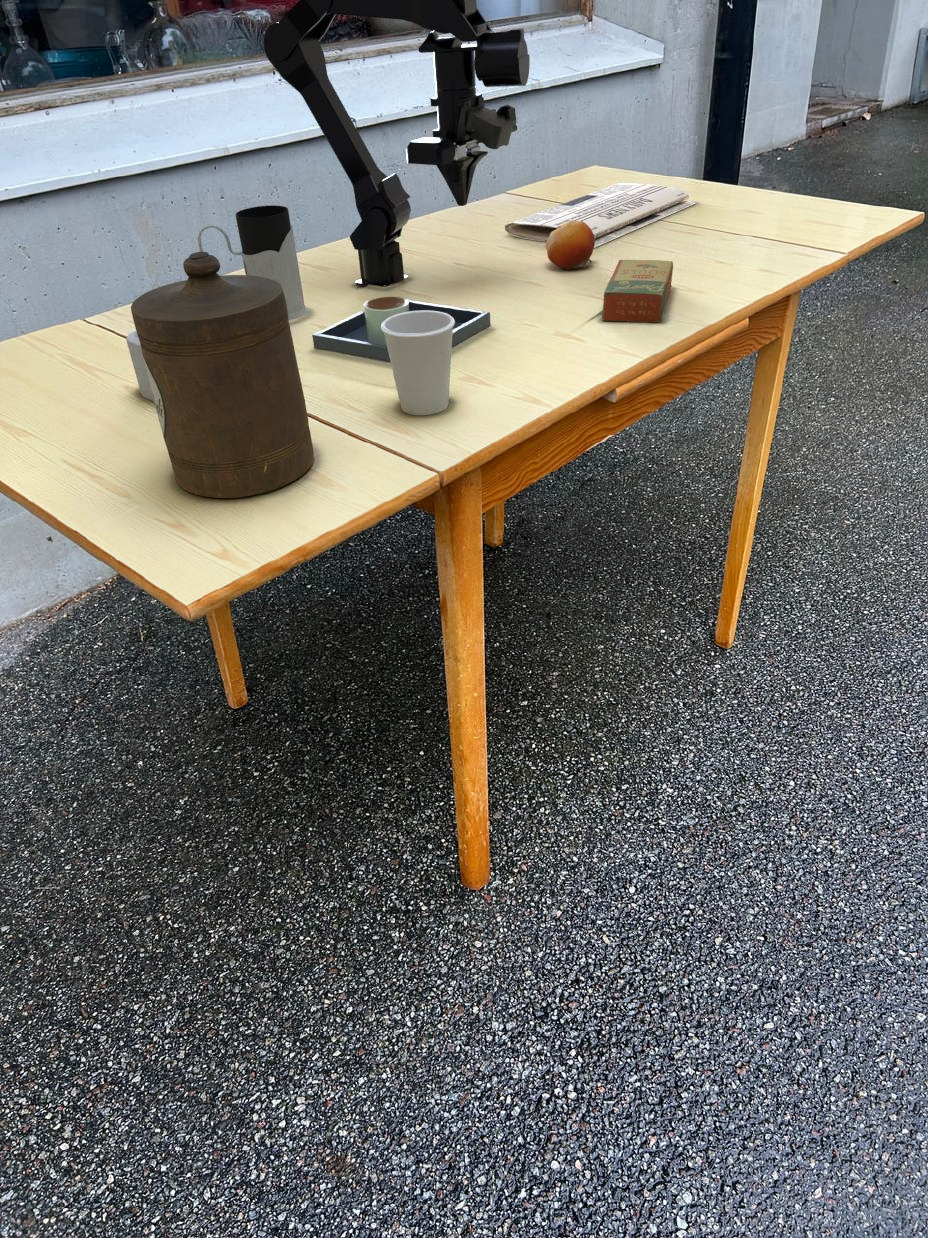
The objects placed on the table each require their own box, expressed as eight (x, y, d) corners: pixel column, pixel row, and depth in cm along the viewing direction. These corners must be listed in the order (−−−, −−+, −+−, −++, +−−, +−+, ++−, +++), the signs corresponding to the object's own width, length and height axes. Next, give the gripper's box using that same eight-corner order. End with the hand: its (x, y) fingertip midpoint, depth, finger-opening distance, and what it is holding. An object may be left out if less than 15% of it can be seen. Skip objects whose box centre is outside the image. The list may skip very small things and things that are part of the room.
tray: (314, 351, 127) (311, 334, 126) (391, 313, 139) (389, 297, 138) (418, 371, 119) (416, 353, 118) (491, 329, 131) (490, 312, 129)
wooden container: (218, 432, 107) (171, 232, 94) (335, 441, 103) (304, 234, 90) (147, 493, 96) (84, 275, 83) (277, 506, 92) (231, 279, 79)
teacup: (359, 347, 126) (354, 306, 123) (386, 333, 130) (381, 293, 127) (400, 354, 123) (395, 312, 120) (425, 339, 127) (422, 299, 124)
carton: (672, 288, 141) (674, 259, 138) (661, 323, 129) (663, 292, 126) (617, 286, 143) (618, 257, 140) (601, 321, 131) (602, 290, 128)
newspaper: (612, 194, 194) (612, 180, 193) (696, 203, 184) (697, 188, 182) (505, 235, 172) (504, 219, 170) (593, 248, 162) (593, 231, 160)
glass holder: (307, 323, 137) (289, 215, 129) (211, 331, 137) (187, 224, 128) (310, 305, 144) (294, 202, 136) (219, 312, 144) (197, 209, 135)
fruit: (603, 263, 149) (578, 218, 146) (561, 288, 152) (536, 245, 149) (607, 249, 155) (583, 205, 152) (567, 274, 159) (542, 232, 156)
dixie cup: (404, 425, 106) (395, 339, 100) (380, 400, 112) (370, 318, 106) (471, 410, 108) (466, 325, 102) (443, 386, 115) (437, 305, 109)
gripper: (466, 98, 122) (472, 224, 131) (537, 79, 134) (539, 195, 143) (399, 97, 127) (409, 217, 137) (473, 78, 140) (478, 190, 149)
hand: (462, 205), depth 141 cm, fingers closed
